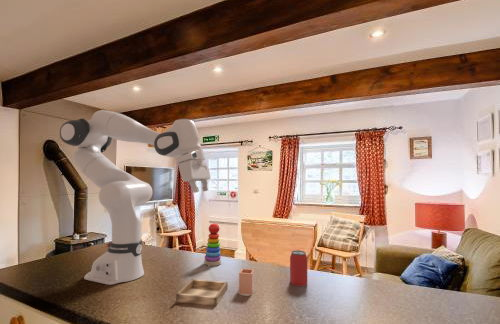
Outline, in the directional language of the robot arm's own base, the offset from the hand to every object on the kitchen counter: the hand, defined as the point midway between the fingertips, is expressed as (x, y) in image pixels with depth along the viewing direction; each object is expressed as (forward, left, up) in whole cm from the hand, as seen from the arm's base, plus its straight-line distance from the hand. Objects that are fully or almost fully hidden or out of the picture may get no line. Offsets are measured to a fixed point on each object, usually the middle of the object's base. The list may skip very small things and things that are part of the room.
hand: (201, 191), depth 103 cm
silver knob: (+19, -4, -35) cm, 40 cm away
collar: (+19, -4, -35) cm, 40 cm away
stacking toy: (-3, +23, -35) cm, 42 cm away
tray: (+5, -10, -35) cm, 37 cm away
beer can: (+37, +8, -35) cm, 52 cm away
